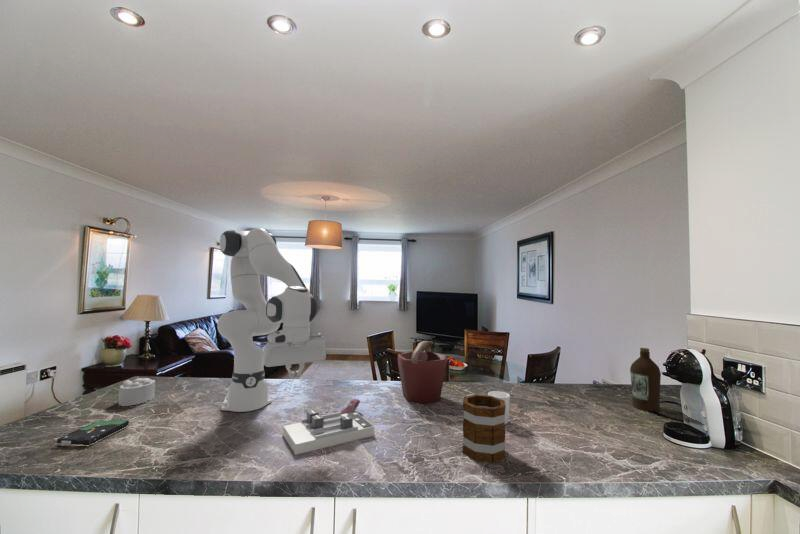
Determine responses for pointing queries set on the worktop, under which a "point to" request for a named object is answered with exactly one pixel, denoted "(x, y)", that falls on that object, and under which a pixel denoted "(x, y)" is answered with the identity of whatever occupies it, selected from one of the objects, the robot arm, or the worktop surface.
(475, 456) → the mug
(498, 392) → the white cup
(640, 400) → the olive oil
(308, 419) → the tab
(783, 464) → the worktop surface
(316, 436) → the switch bank
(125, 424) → the disk drive
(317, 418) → the middle tab
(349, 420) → the tab
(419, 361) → the bucket
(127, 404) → the lumpy-topped squat cylinder
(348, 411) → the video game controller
